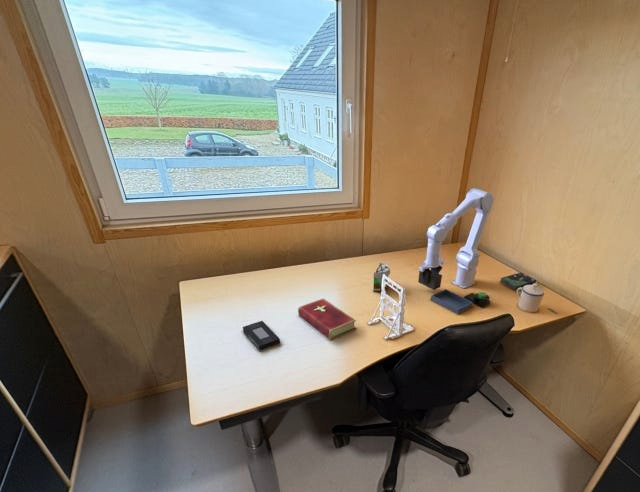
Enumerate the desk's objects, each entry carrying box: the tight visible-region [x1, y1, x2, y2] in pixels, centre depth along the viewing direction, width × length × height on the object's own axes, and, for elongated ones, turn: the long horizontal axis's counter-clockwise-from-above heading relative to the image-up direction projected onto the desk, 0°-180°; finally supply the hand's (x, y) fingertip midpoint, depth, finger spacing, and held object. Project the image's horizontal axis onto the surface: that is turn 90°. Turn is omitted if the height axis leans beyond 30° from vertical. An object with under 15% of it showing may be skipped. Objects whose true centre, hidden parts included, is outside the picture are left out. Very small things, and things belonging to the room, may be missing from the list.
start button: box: [478, 291, 488, 299], centre depth 158 cm, size 4×4×2 cm
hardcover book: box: [297, 298, 357, 341], centre depth 139 cm, size 12×21×4 cm, turn 43°
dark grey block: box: [417, 268, 443, 291], centre depth 163 cm, size 5×10×6 cm, turn 43°
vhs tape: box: [242, 320, 281, 352], centre depth 128 cm, size 8×14×2 cm, turn 40°
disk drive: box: [499, 272, 537, 291], centre depth 179 cm, size 10×3×15 cm
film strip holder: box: [367, 274, 415, 341], centre depth 135 cm, size 14×14×20 cm
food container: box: [373, 262, 391, 293], centre depth 164 cm, size 12×6×10 cm, turn 168°
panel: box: [463, 292, 492, 309], centre depth 160 cm, size 6×10×4 cm, turn 43°
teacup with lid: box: [516, 283, 545, 313], centre depth 157 cm, size 12×9×12 cm
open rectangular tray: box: [430, 288, 474, 315], centre depth 158 cm, size 10×15×2 cm
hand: (429, 281), depth 163 cm, fingers closed on dark grey block, 4 cm apart
